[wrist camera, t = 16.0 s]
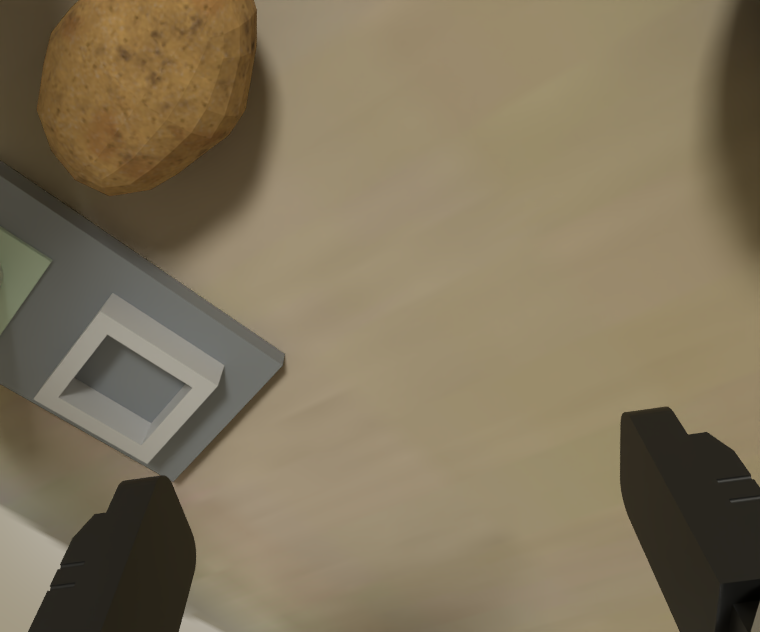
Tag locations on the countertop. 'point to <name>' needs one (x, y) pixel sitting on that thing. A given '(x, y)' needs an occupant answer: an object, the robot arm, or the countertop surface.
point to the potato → (144, 86)
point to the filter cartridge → (1, 276)
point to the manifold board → (116, 336)
